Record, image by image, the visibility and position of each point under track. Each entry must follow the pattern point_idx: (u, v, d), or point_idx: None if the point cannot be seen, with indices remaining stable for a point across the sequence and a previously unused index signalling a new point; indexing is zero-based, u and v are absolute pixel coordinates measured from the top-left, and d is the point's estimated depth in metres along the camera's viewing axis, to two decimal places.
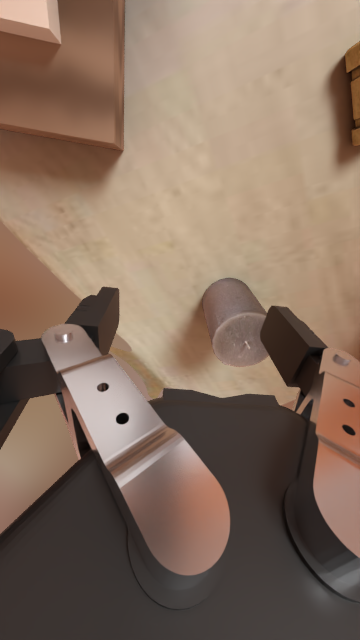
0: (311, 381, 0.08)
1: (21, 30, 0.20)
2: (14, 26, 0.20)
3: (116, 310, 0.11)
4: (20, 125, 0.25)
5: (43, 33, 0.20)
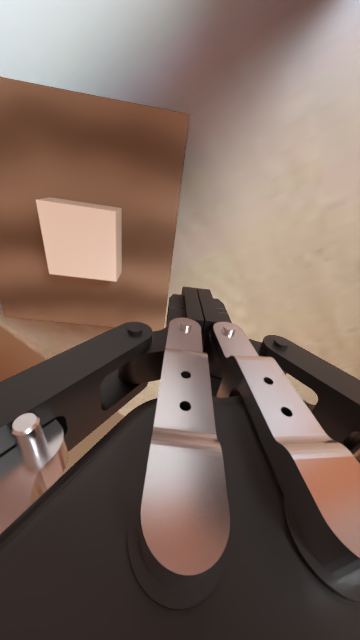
0: (206, 353, 0.09)
1: None
2: None
3: None
4: (76, 322, 0.26)
5: None
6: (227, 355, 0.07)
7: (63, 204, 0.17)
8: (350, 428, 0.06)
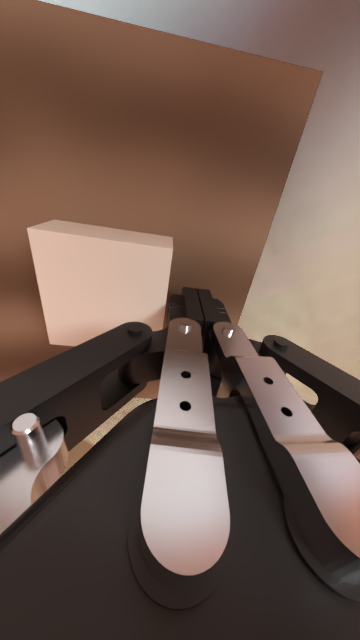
0: (206, 353, 0.09)
1: None
2: None
3: None
4: None
5: None
6: (227, 355, 0.07)
7: (78, 236, 0.09)
8: (350, 428, 0.06)
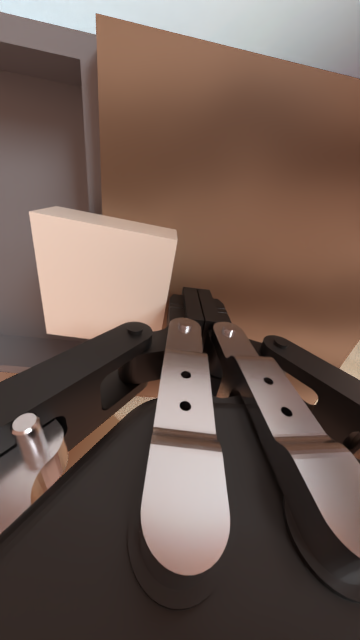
0: (206, 353, 0.09)
1: None
2: None
3: None
4: None
5: None
6: (227, 355, 0.07)
7: (82, 223, 0.09)
8: (350, 428, 0.06)
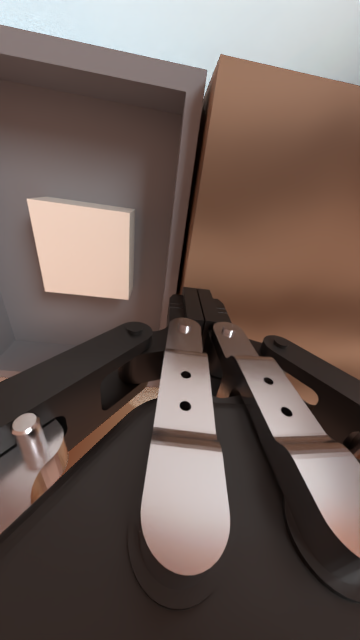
0: (206, 353, 0.09)
1: None
2: None
3: None
4: None
5: None
6: (227, 355, 0.07)
7: (106, 206, 0.16)
8: (350, 428, 0.06)
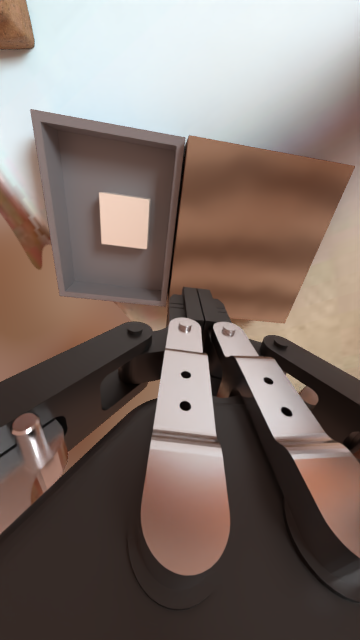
0: (206, 353, 0.09)
1: None
2: None
3: None
4: None
5: None
6: (227, 355, 0.07)
7: (135, 196, 0.29)
8: (350, 428, 0.06)
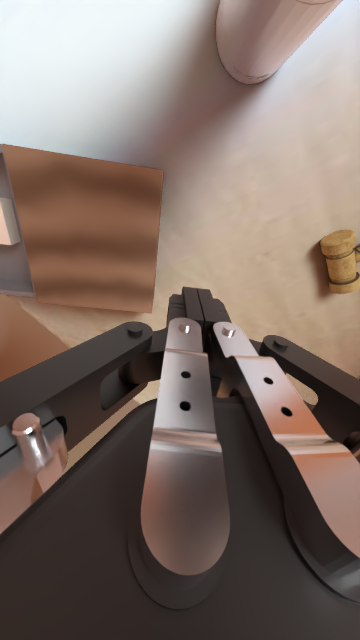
0: (206, 353, 0.09)
1: None
2: None
3: None
4: (88, 306, 0.36)
5: None
6: (227, 355, 0.07)
7: None
8: (350, 428, 0.06)
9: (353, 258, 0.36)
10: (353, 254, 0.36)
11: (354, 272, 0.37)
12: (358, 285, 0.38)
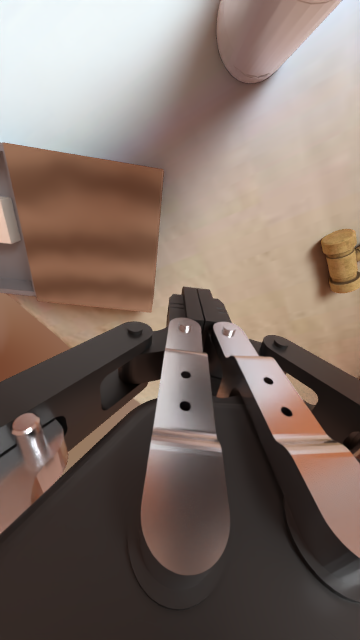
0: (206, 353, 0.09)
1: None
2: None
3: None
4: (88, 305, 0.36)
5: None
6: (227, 355, 0.07)
7: None
8: (350, 428, 0.06)
9: (354, 257, 0.36)
10: (354, 253, 0.36)
11: (355, 271, 0.37)
12: (359, 284, 0.38)
